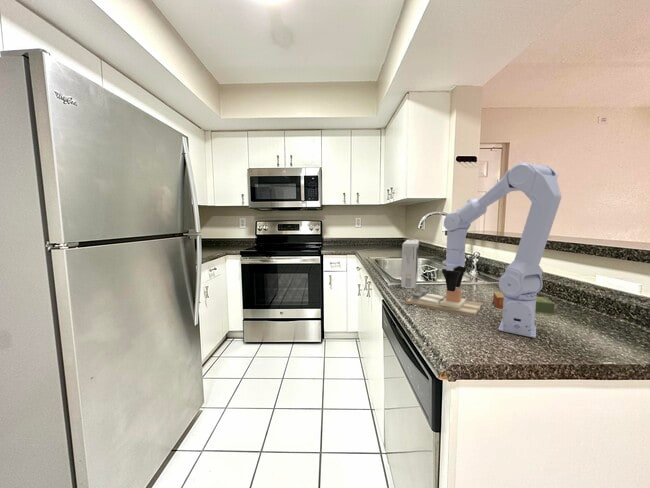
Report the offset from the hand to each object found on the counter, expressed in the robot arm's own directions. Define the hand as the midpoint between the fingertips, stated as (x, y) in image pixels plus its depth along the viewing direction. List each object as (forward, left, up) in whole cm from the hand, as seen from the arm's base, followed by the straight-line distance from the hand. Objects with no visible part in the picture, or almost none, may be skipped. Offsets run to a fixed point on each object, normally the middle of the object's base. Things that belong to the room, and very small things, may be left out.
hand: (453, 288), depth 95 cm
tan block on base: (0, 0, -5) cm, 5 cm away
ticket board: (0, +3, -6) cm, 7 cm away
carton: (+14, -19, -7) cm, 24 cm away
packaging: (+30, +26, -7) cm, 40 cm away
